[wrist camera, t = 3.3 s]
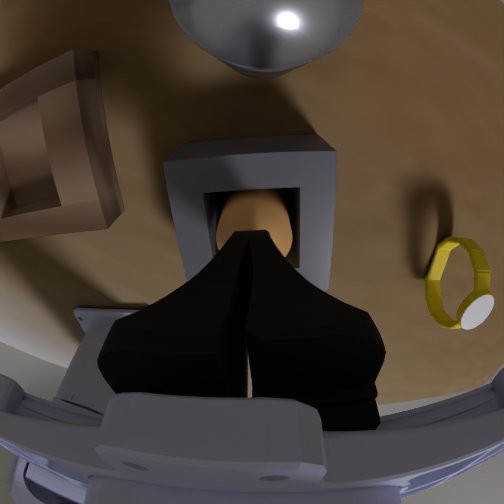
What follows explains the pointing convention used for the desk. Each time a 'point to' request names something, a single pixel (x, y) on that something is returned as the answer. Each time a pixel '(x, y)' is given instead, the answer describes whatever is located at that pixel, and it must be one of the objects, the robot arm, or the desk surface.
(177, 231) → the button housing
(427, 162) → the desk surface
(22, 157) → the frame
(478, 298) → the watch
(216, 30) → the steel billet
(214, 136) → the desk surface
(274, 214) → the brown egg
